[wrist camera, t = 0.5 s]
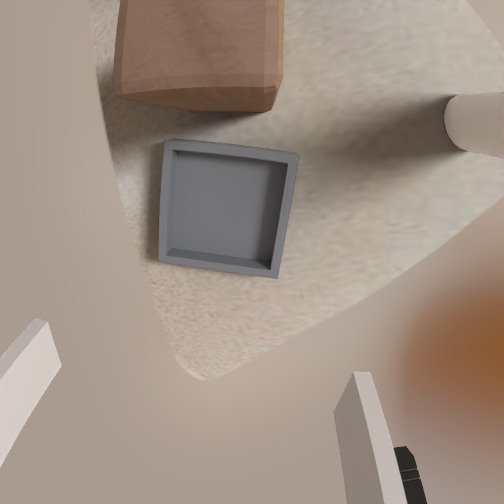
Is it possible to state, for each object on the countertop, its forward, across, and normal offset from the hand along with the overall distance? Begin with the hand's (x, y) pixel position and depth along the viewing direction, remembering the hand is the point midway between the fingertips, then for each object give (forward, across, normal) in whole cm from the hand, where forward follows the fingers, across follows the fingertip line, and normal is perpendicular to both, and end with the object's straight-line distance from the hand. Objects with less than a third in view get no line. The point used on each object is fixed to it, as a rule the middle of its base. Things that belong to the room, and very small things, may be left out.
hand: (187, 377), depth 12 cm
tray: (+28, -2, -1) cm, 28 cm away
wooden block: (+28, -3, +15) cm, 32 cm away
